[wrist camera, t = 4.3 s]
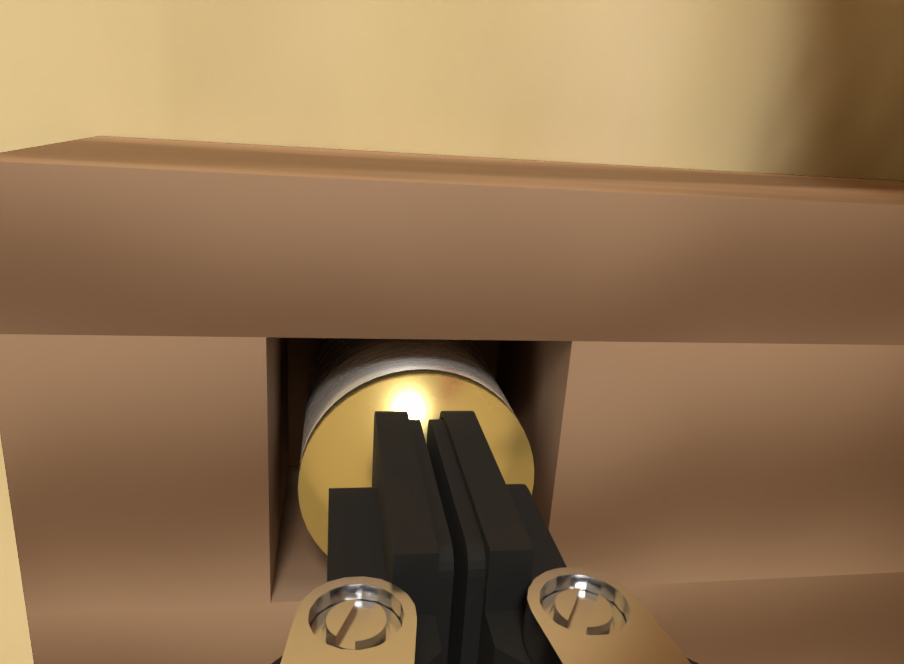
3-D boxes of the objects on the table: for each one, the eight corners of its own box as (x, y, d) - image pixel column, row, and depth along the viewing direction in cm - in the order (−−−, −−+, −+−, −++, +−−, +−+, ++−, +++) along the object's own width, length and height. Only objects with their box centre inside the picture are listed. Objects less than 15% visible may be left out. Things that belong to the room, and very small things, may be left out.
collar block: (99, 135, 15) (-40, 159, 10) (1102, 192, 20) (1411, 231, 14) (133, 534, 18) (43, 729, 13) (993, 507, 23) (1210, 643, 17)
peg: (308, 297, 15) (297, 375, 11) (490, 301, 16) (546, 376, 12) (308, 463, 16) (297, 590, 12) (476, 460, 17) (522, 580, 13)
